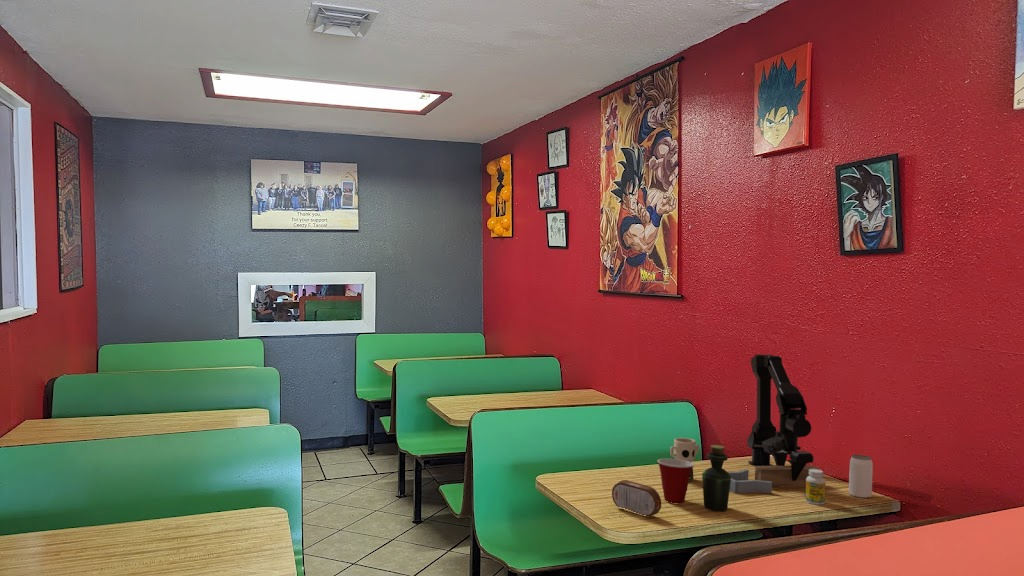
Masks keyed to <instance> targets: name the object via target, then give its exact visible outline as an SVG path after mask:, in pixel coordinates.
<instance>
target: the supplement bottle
mask: <svg viewBox="0 0 1024 576" xmlns="http://www.w3.org/2000/svg"><path fill="white" fill-rule="evenodd" d="M809 475H810V476H808V477H807V478H806V487H805V502H807V503H808V504H810V505H816V506H817V505H818V506H822V505H824V504H825V503H826V480H825V478H824V471H823V470H821V469H819V470H817V469H810V470H809Z"/></svg>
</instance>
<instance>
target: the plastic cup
mask: <svg viewBox="0 0 1024 576" xmlns="http://www.w3.org/2000/svg"><path fill="white" fill-rule="evenodd" d="M656 462H657V463H658V467H659V472H660V479H661V485H662V486H661V487H662V491H663V498H664V501H665V500H666V501H668V502H672V503H681V504H683V502H684V503H685V499H686V495H687V492H688V485H689V481H690V474H691V470H692V468H693V469H694V466H695V463H693V461H691V462H689V461H684V460H678V459H675V458H659V459H657V461H656ZM666 501H665V502H666ZM668 502H667V503H668ZM672 503H671V504H672Z"/></svg>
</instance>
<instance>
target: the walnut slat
mask: <svg viewBox="0 0 1024 576" xmlns="http://www.w3.org/2000/svg"><path fill="white" fill-rule="evenodd" d="M810 469H817V470H820V468H818V467H817V466H814V465H813V464H812V465H811V464H810V465H805V467H804V468H803V469H802V471H801V473H800V474H799V476H798V478H797V480H796V481H793V480H792V471H791V465H785V466H776V465H773V466H754V480H761V481H770V482H772V488H782V487H781V486H784V487H783V488H786V487H785V486H789V487H788V488H795V487H794V486H806V478H807V477H808V476H810V475H809V470H810ZM790 486H791V487H790Z"/></svg>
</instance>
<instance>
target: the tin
mask: <svg viewBox="0 0 1024 576" xmlns="http://www.w3.org/2000/svg"><path fill="white" fill-rule="evenodd" d="M611 490H612V491H611V497H612V501H613V503H614V505H615V506H616V507H617V506H618V507H621V508H625V509H628V510H631V511H633V512H636V513H639V514H642V515H646V516H649V517H648V518H650V517H653V516H655V515H657V514H658V513H659V512H660V511H661V508H662V499H661V496H660V494H659V492H657V490H656V489H655V488H654V487H652V486H649V485H647V484H644V483H643V484H642V483H639V482H635V481H631V480H628V479H623V480H620V481H618V482H617V483H615V485H613V487H612V488H611ZM618 507H617V508H618Z"/></svg>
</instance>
